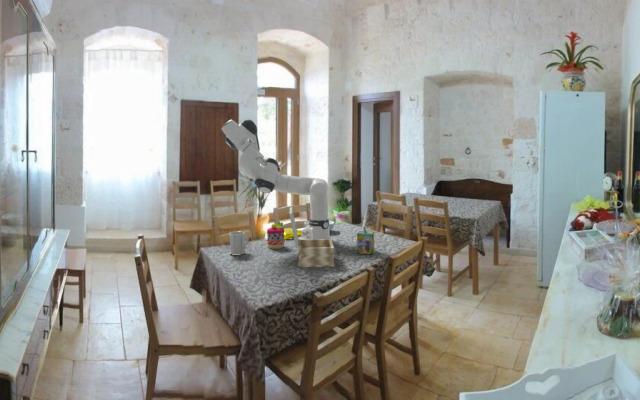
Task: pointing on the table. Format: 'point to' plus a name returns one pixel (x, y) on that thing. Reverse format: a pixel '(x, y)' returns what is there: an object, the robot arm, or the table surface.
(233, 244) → the cup
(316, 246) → the birch box
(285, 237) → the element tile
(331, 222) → the serving bowl
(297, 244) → the lid
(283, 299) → the table surface
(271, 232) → the cake
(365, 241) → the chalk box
